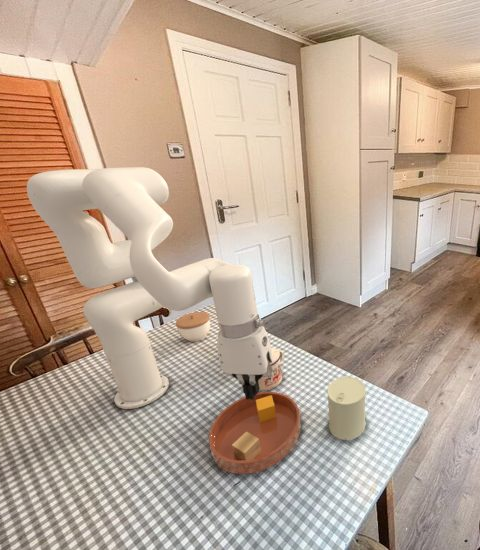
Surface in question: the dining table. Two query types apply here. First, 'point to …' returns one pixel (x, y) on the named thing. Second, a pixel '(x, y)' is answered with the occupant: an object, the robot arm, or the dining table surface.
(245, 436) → the birch block
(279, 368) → the teacup with lid
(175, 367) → the dining table surface
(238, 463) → the bowl
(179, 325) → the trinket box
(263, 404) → the mustard block
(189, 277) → the robot arm
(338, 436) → the can
